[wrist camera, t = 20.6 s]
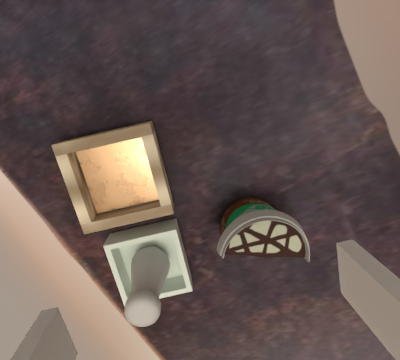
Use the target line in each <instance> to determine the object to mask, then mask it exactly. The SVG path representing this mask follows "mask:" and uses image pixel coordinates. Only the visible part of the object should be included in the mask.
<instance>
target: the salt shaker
mask: <svg viewBox="0 0 400 360" xmlns="http://www.w3.org/2000/svg"><path fill="white" fill-rule="evenodd" d="M169 268H170V262H169V259H168V256H167V254H166V253H165V252H164V251H163V250H161V249H160V248H158V247H156V246H154V245H152V246H148V247H145V248H142V249H140V250H139V251H137V253H136V254H135V255H134V257H133V258H132V263H131V295H130V296H129V298H128V299H127V301H126V304H125V316H126V319H127V320H128V321H129V322H130V323H131V324H132V325H135V326H139V327H145V326H149V325H151V324H153V323H155V322H156V320H157V319H158V318H159V315H160V311H161V302H160V300H159V296H160V293H161V290H162V288H163V285H164V283H165V280H166V278H167V275H168V273H169Z"/></svg>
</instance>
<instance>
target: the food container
mask: <svg viewBox="0 0 400 360" xmlns="http://www.w3.org/2000/svg"><path fill="white" fill-rule="evenodd" d="M217 252H218V254H219V255H220V256H222V258H224V254H227V255H249V256H257V257H301V258H305V259H306V260H307V261H308V262H309V260H310V249H309V243H308V240H307V238H306V235H305V233H304V231H303V229H302V227H301V226H300V224H299V223H298V222H297V221H296V220H295V219H293V218H292V217H291V216H289V215H287V214H285V213H283V212H280V211H277V210H276V209H274V208H273V207H272V206H271V205H270V204H268V203H267V202H266V201H264V200H262V199H259V198H254V197H248V198H243V199H240V200H238V201H236V202H234V203H233V204H231V205H230V206H229V207H228V208H227V209H226V211H225V212H224V214H223V215H222V218H221V221H220V240H219V242H218V245H217Z"/></svg>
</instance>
